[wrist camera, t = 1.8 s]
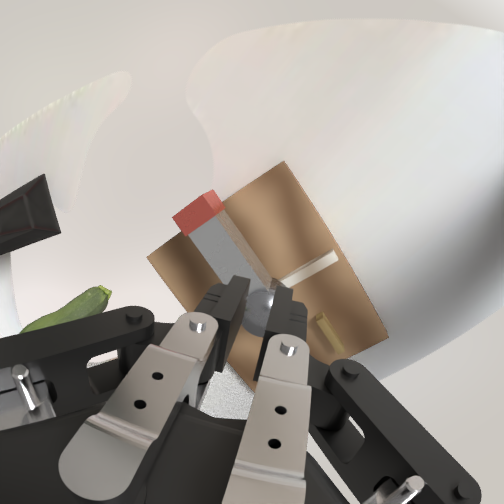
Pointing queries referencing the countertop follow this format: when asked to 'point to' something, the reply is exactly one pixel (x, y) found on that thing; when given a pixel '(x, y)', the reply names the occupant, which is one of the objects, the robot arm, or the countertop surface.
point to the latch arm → (229, 256)
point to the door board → (282, 271)
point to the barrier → (27, 216)
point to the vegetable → (75, 309)
